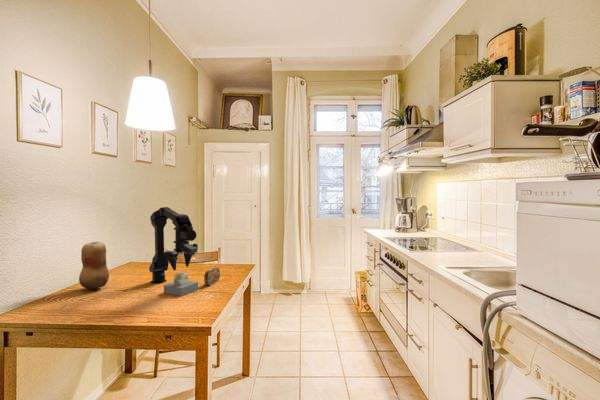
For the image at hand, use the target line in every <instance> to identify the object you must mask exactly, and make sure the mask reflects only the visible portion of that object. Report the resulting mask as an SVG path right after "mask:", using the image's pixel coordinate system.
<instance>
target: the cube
mask: <svg viewBox="0 0 600 400" xmlns="http://www.w3.org/2000/svg"><path fill="white" fill-rule="evenodd" d="M188 281H189V273H187V272H178V273H176V274H173V282H174V284H175V285H184V284H187V283H188Z"/></svg>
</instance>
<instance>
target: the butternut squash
mask: <svg viewBox="0 0 600 400" xmlns="http://www.w3.org/2000/svg"><path fill="white" fill-rule="evenodd" d="M80 253H81V255H80V258H81V263H82V268H81V271H80V274H79V277H78V281H79V285H80V286H81V287H83V288H84V289H87V290H90V291H91V290H92V291H95V290H98V289H100V288H103V287H105V286H106V284H108V282H109V278H110V272H109V269H108V266H107V265H108V264H107V248H106V244H105V243H104V242H102V241H92V242H88V243H86V244H84V245H83V246H82V247H81V252H80Z"/></svg>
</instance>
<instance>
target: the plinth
mask: <svg viewBox="0 0 600 400" xmlns="http://www.w3.org/2000/svg"><path fill="white" fill-rule="evenodd" d="M198 290H199V282H198V281H193V280H188V283H187V284H184V285H175V284H174V281H172V282H169V283H167V284H164V285H163V293H164V294H168V295H174V296H179V297H183V296H186V295H188V294H191V293H193V292H196V291H198Z"/></svg>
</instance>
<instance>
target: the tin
mask: <svg viewBox="0 0 600 400" xmlns="http://www.w3.org/2000/svg"><path fill="white" fill-rule="evenodd" d="M220 275H221V273H220V268H218V267H212V268H210V269H208V270H206V271H205V273H204V275H203V279H204V285H206V286H213V285H214V284H217V283H218V282H219V281H220V277H221V276H220Z"/></svg>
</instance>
